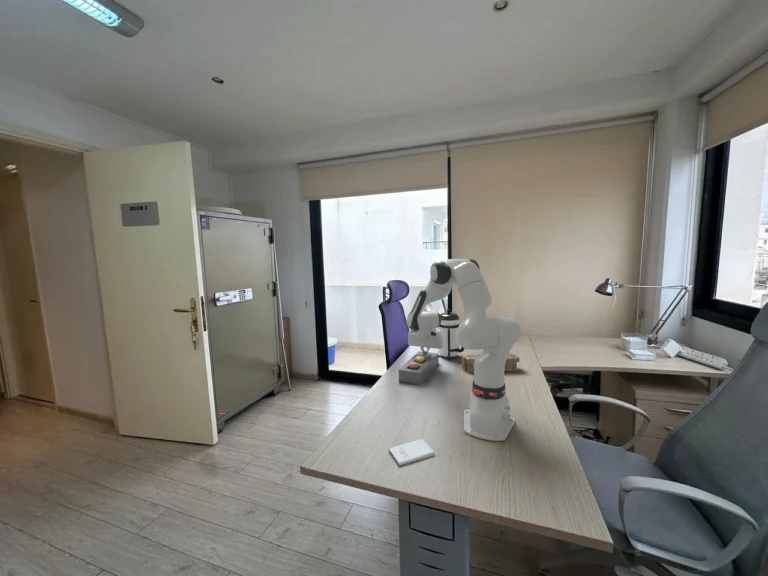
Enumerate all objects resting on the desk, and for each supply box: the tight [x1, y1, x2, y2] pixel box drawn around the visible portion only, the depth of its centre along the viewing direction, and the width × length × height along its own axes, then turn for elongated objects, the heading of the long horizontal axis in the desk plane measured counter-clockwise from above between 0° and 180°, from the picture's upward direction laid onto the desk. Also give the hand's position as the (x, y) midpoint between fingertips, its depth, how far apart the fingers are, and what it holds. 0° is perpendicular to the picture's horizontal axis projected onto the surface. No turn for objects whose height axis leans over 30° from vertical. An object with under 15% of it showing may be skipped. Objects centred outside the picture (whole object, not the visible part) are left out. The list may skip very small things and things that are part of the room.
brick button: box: [409, 362, 419, 370], centre depth 160 cm, size 5×5×2 cm
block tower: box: [460, 352, 520, 373], centre depth 169 cm, size 8×8×29 cm
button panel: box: [398, 350, 440, 385], centre depth 169 cm, size 32×12×6 cm, turn 155°
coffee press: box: [437, 308, 465, 361], centre depth 191 cm, size 17×16×30 cm
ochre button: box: [415, 356, 424, 363], centre depth 169 cm, size 5×5×2 cm
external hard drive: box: [388, 438, 436, 466], centre depth 100 cm, size 2×8×12 cm
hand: (425, 354), depth 178 cm, fingers closed, pressing on sage button
